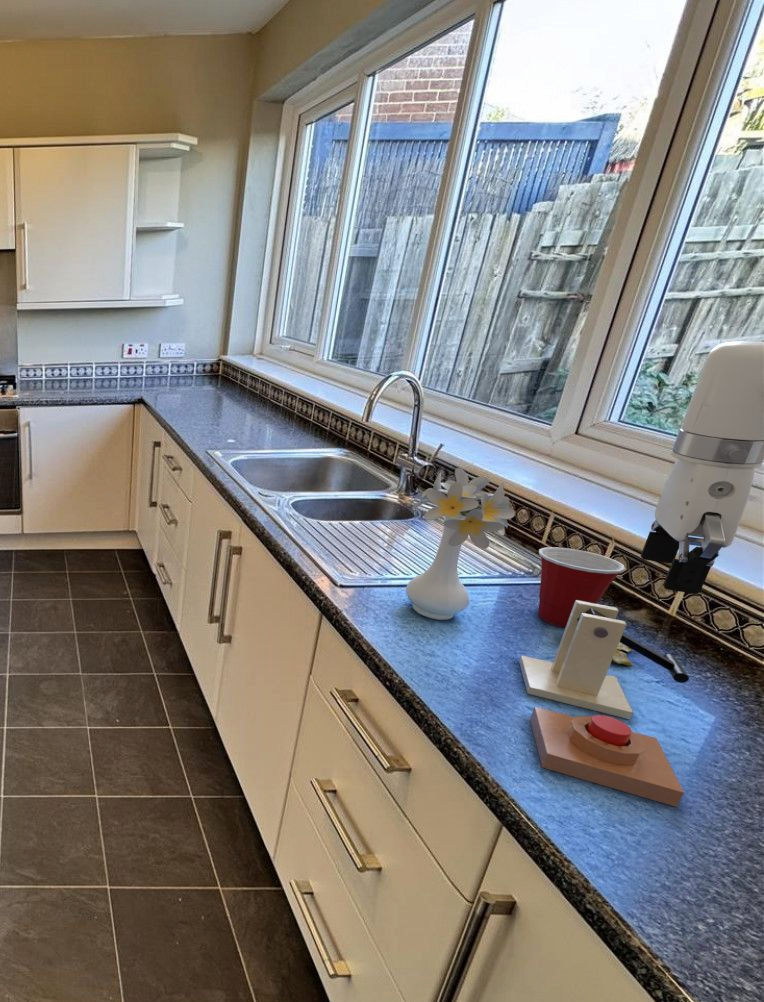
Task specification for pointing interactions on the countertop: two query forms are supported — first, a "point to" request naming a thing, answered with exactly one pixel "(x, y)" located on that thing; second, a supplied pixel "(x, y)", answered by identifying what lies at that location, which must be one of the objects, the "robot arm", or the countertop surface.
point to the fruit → (621, 655)
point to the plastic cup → (572, 581)
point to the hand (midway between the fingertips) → (667, 575)
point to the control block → (604, 757)
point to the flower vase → (456, 540)
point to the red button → (609, 730)
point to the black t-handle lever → (651, 654)
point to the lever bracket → (582, 664)
